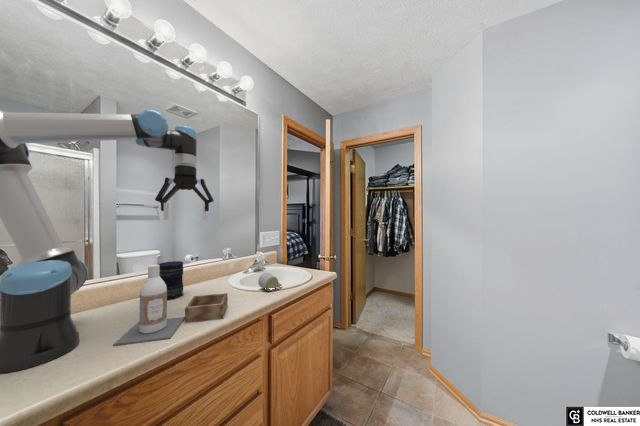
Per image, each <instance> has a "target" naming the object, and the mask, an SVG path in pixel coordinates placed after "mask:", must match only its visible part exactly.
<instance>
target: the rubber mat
mask: <svg viewBox="0 0 640 426" xmlns="http://www.w3.org/2000/svg"><path fill="white" fill-rule="evenodd" d="M184 321H185V316H181V317H180V316H178V317H170V318H169V317H168V318H167V325H166V327H165V328H163V329H162V330H160V331H157V332H154V333H148V334H144V333H141V332H140V330H139V328H140V324H139V321H138V322H136V324H134V325H133V326H132V327H131V328H130V329H129V330H128V331H127V332H125V333H124V334H123V335H122V336H121V337H120V338H118V339H117V340H116V341H115V342H114V343H113V344H112V346H113V347H116V346H117V347H118V346H124V345H133V344H139V343H147V342H149V343H150V342H155V341H163V340H170V339H172V338H173V336H174V335H175V333H176V332H177V331H178V329H179V328H180V326H181V325H182V323H183V322H184Z"/></svg>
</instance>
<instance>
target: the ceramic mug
mask: <svg viewBox="0 0 640 426" xmlns="http://www.w3.org/2000/svg"><path fill="white" fill-rule="evenodd" d="M257 281H258V282H257V283H258V286H259V287H260V288H262V289H264V288H266V289H264V290H266V291H267V292H274V291H275V290H276V289H277V288H280V289H281V288H282V285H283V284H282V283H279V280H278V278H277V277H276V276H275V275H273V274H272V273H269V272H263V273H261V275H259V277H258V280H257ZM280 286H281V287H280ZM276 287H277V288H276ZM269 288H276V289H272V290H270V289H269Z"/></svg>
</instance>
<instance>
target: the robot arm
mask: <svg viewBox="0 0 640 426" xmlns="http://www.w3.org/2000/svg"><path fill="white" fill-rule="evenodd" d="M123 140H126V141H127V140H128V141H129V140H135V143H136V145H138V146H141V147H146V148H152V149H153V148H154V149H159V150H170V151H174V165H175V166H174V178H170V177H165V178H164V182H163V185H162V186H161V188H160V189H159V192H158V193H157V195H156V197H155V199H154V200H155V201H156V202H158V203H160V211H161V212H163V220H164V221H166V220H167V221H168V220H169V203H168V201H169V200H171V198H172V197H173V196H174V195H175V194H176V193H177V192H178V191H179V190H181V191H185V190H187V191H194V192H195V194H196V195H197V196H198V197H199V198H200V199H201V201H203V203H202V213H201V214H202V217H201V218H202V219H201V220H207V212H209V209H210V208H209V207H210V206H209V205H210V203H213V202H214V201H215V200H214V198H213V196H212V194H211V193H210V190H209V189H208V187H207V185H206V180H205V179H204V178H200V179H197V147H198V146H197V143H198V141H197V131H196V129H194V128H193V127H190V126H188V125H176V126H175V127H174V129H169V125H168V121H167V119H166V117H165V116H164V114H162V113H160V112H158V111H157V110H154V109H146V110H142V111H141V112H140V113H133V114H132V113H131V114H130V113H127V114H126V113H80V112H79V113H78V112H77V113H74V112H72V113H71V112H69V113H68V112H63V113H62V112H13V111H12V112H10V111H9V112H7V111H3V110H2V109H0V221H1V222H2V225H3V227H4V228H5V230H6V232H7V233H8V235H9V237H10V239H11V240H12V243H13V244H14V247H15V248H16V250H17V251H18V254H19V256H20V258H21V260H20V261H19V262H18V263H17V265H15V266H12V267H10V268H9V269H6V270H5V271H4V272H3V273H2V274H1V276H0V374H4V373H12V372H16V371H20V370H21V371H22V370H25V369H28V368H32V367H34V366H35V367H36V366H39V365H43V364H45V363H47V362H49V361H52V360H55V359H57V358H60V357H61V356H64V355H66V354H68V353H70V352H71V351H72V350H74V349H75V348H76V347H78V346H79V344H80V333H79V331H78V330H77V327H76V324H75V322H74V321H73V319H72V316H71V314H72V313H71V312H72V309H71V308H72V307H71V306H72V303H71V300H72V295H73V294H74V293H75V292H77V291H79V290H80V289H81V288H82V287H83V286H84V284H85V282H86V281H87V279H88V276H89V269H88V267H87V265H86V264H85V262H83V261H82V260H80V259H79V258H78V257H77V254H76V252H75V251H74V249H73V248H70V247H66V246H64V244H63V242H62V240H61V237H60V236H59V234H58V231H57V230H56V228H55V226H54V224H53V222H52V220H51V218H50V216H49V214H48V212H47V210H46V207H45V206H44V204H43V202H42V200H41V198H40V196H39V194H38V192H37V190H36V188H35V185H34V184H33V182H32V180H31V178H30V176H29V172H30V171H31V170H32V169H33V167H32V165H31V164H32V163H31V161H30V160H29V156H30V150H29V147H28V145H27V144H45V143H48V144H49V143H72V142H74V143H75V142H98V141H99V142H101V141H102V142H103V141H123ZM173 183H174V186H172V188H171V189H170V190H169V191H168V189H169V187H170V186H171V184H173ZM197 184H199V185H200V186H201V187H202V189H203V192H204V194H205V195H206V196H205V195H204V194H203V193H202V192H201V191H200V190H199V189H198V188H197ZM167 191H168V193H167Z"/></svg>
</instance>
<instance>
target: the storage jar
mask: <svg viewBox="0 0 640 426" xmlns="http://www.w3.org/2000/svg"><path fill="white" fill-rule="evenodd" d="M157 265H159V266H160V269H159V276H160V277H161V278H162V280H163V281H164V282H165V284H166V287H167V301H172V300H177V299H180V298H182V297H183V296H184V282H183V279H184V278H183V275H184V261H181V260H177V261H176V260H175V261H174V260H173V261H165V262H160V263H158V264H157Z"/></svg>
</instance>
